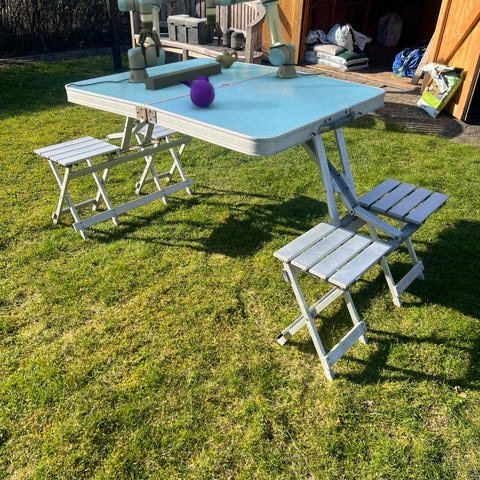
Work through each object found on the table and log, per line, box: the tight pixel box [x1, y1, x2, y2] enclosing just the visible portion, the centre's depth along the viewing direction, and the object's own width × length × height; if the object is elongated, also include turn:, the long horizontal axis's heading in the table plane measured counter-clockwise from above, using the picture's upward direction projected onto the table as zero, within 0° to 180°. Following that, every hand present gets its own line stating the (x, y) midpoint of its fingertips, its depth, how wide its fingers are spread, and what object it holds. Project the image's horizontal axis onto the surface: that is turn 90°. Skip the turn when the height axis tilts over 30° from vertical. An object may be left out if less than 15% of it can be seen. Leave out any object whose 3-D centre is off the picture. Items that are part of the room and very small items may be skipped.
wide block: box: [144, 62, 223, 91], centre depth 337 cm, size 74×9×7 cm, turn 143°
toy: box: [179, 76, 216, 109], centre depth 267 cm, size 16×18×27 cm
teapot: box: [214, 48, 239, 69], centre depth 378 cm, size 21×12×15 cm, turn 120°
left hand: (151, 56), depth 305 cm, fingers open, 13 cm apart
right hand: (212, 45), depth 350 cm, fingers open, 13 cm apart
